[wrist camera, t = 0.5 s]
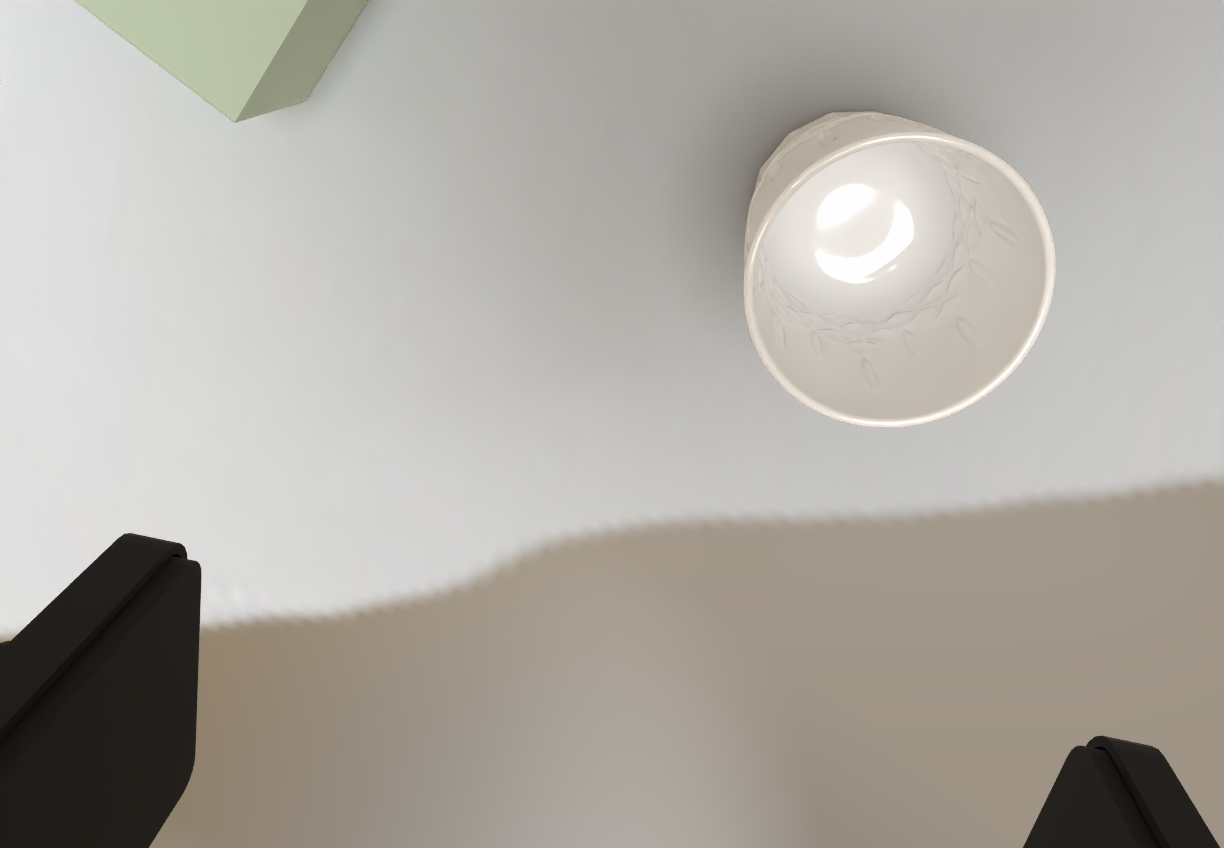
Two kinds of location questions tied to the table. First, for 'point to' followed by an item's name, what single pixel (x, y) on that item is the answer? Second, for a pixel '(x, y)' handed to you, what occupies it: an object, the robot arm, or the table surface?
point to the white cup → (892, 269)
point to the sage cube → (236, 45)
